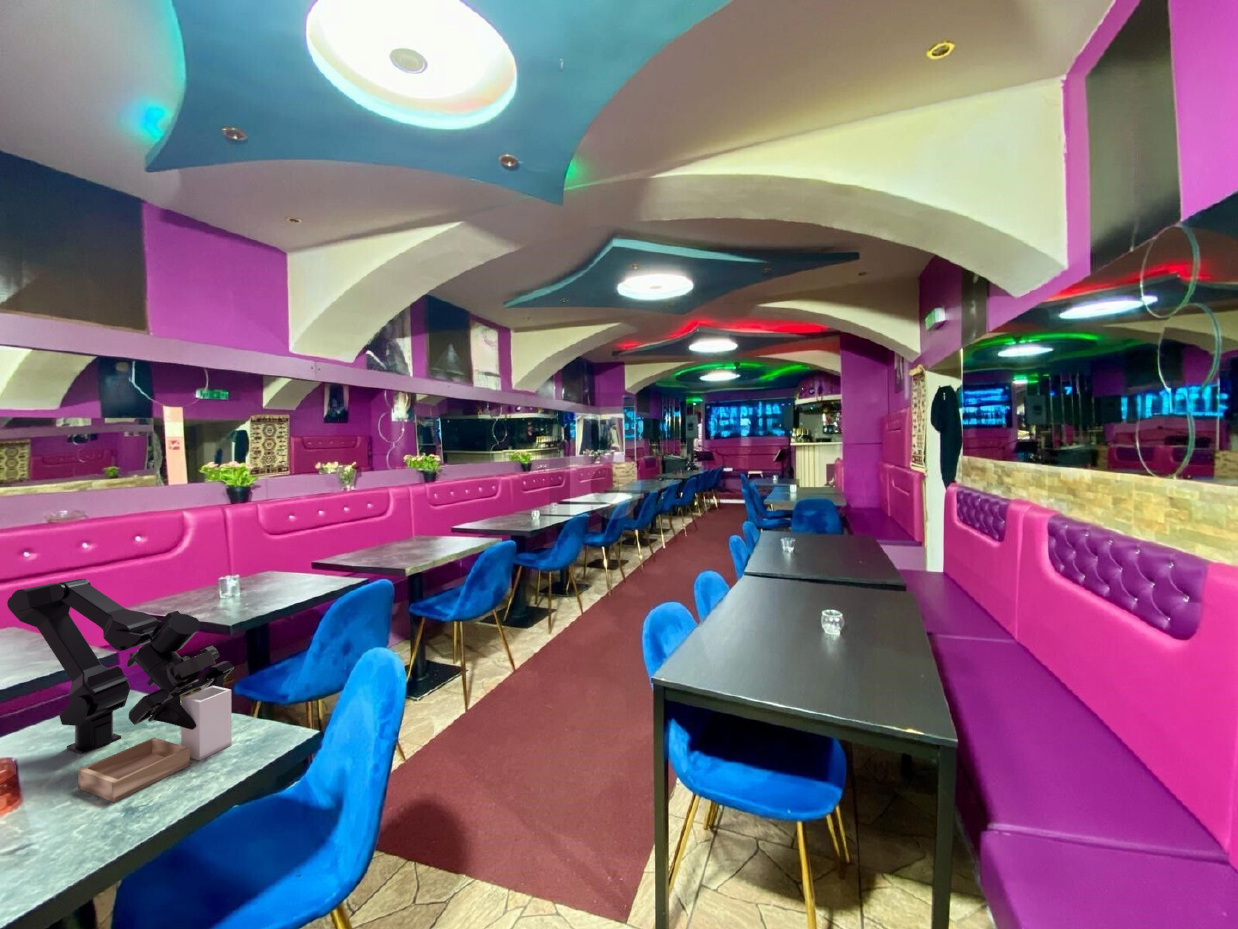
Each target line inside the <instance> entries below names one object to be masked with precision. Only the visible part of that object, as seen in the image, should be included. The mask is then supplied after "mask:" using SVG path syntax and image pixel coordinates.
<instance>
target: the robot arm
mask: <svg viewBox="0 0 1238 929" xmlns="http://www.w3.org/2000/svg"><path fill="white" fill-rule="evenodd" d="M6 604H7V608H8V610H9V611H10V612H11V613H12V614H13V616H15V617H16V619H17V620H18V621H19V622H21V623H23V624H26V625H29V626H32V627H35V628H37V630H38V631H39V632H40V634H41V636H42V637H43V638H44V640H45V642H46V644H47V645H48V646H49V648H50V650H51V652H52V653H53V654H54V656H55V658H56V659H57V660H58V662H59V663H60V665H61V667H62V668H63V670H64V671H65V674H66V675H67V676H68V677H69V679H70V682H71V686H70V690H69V693H68V699H69V702H70V703H69V704H68V706H66V708H65V709H64V710H63V711H62V712H61V713H60V714H59V719H60V723H61V726H73V727H74V743H71V744H68V745H67V746H66V749H67V750H69V751H72V752H75V753H79V754H80V755H81V754H87V753H89V752H91V751H94V750H96V749H98V748H101V747H104V746H106V745H108V744H110V743H113V742H115V741H116V742H117V741H118V740H121V739H122V735H120V734H117V733H114V711H116V710H118V709H121V708H124V707H126V703H127V701H128V698H129V695H130V694H129V693H130V691H131V685H130V683H129V682H128V681H130V679H129V678H128V677H127V676H126V675H125V673H124V672H123V670H122V668H121V667H120V666H118V665H116V666H112V667H107V666H104V665H103V664H102V662H101V661H100V659H99V658H98V656H97V654H96V653H95V652H94V651H93V650H94V649H92V647H91V646H90V644H89V643H88V641H87V639H86V638H85V637H84V635H83V633H82V632H81V631H80V629H79V627H78V626H77V624H76V623H75V621H74V620H73V618H72V616H71V615H70V611H71V608H72V610H74V611H76V612H77V613H79V614H80V615H82V616H83V617H85V618H86V619H88V620H89V621H91V622H92V623H94V625H97V626H98V627H99V628H100V629H101V630H102V631H103V639H104V640H105V642H106V643H108V644H109V645H110V647H112V648H113V649H114V650H115V651H119V652H123V651H127V650H131V649H133V648H136V647H139V646H140V647H139V648H138V649H137V650H136V651H133V652H130V653H129V657H128V660H127V662H126V667H128V668H130V667H133V666H135V665H137V666H139V667H140V668H141V670H142V671H143V672H144V673H145V675H147V676H148V678H150V679H149V680H147V682H146V684H147V685H148V686H149V687H152V686H156V687H157V688H158V690H155V691H152V692H151V693H148V694H146V695H144V696H142V697H141V698H140V699H139V701H138V702H136V704H134V706H133V707H132V708H131V709H130V710H129V712H128V720H129V721H130V723H132V724H133V725H134V726H136V725H138V724H140V723H142V722H144V721H148V722H149V723H150V722H154V721H156V722H160V723H165V724H169V725H174V726H177V727H180V728H181V727H184V728H187V729H191V730H193V729H194V728H195V727H196V724H195V722H194V720H193V719H192V718H191V716H190V715H189V714H188V713H187V712H186V710H185V709H184V708H183V707H182V706H181V697H183V696H184V695H186V694H188V693H190V692H192V691H194V690H196V689H199V688H200V689H201V690H203V689H206V688H208V687H211V686H217V687H222V688H224V686H223V685H224V680H225V678H227V677H228V675H230V673H231V672H232V671H233V670H234V669H235V667H234V665H233V664H232V663H231V662H230V661H228V660H224V661H221V662H219V663H217V662H216V660H217V659H219V658H220V653H219V651H218V649H217V648H216V647H215V646H214V645H210V646H208V647H205V648H203V649H201V650H200V651H199V654H197V655H196V656H195V655H194V656H192V657H190V656H187V655H185V656H182V657H181V656H180V655H179V654H178V652H177V651H180V650H181V649H183V648H184V646H186V644H187V643H188V642H189V641H190V640H191V639H192V638H193V637H194V635H195V634H197V632H198V631H199V630H200V628H201V623H200V620H199V619H198V618H197V617H194V616H193V615H189V614H187V613H181V612H180V611H179V610H174V611H170V612H167V613H166V615H165V616H164V617H163V619H162V620H159V619H157V618H156V617H154V616H153V615H151V614H148V613H146V612H143V611H138V610H136V611H135V610H130V609H128V608H125V607H124V606H122V605H121V604H119V603H117V601H115V600H113V599H112V598H110V597H109V596H107V595H106V594H104V593H103V592H101V591H100V590H98V589H97V588H96V587H94V586H92V585H91V582H90V581H89V580H88V579H86V578H75V579H69V580H65V581H60V582H52V583H47V584H42V585H36V586H31V587H26V588H25V587H24V588H21V589H17V590H15V591H14V592H13V593H12V595H11V596H9V597H8V599H7V603H6ZM209 666H210V667H209ZM207 667H209V668H208V669H207V670H206V671H205V670H204V669H205V668H207ZM204 671H205V672H204ZM203 672H204V673H203ZM200 675H201V676H200ZM199 676H200V677H199Z"/></svg>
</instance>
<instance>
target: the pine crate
mask: <svg viewBox="0 0 1238 929" xmlns="http://www.w3.org/2000/svg"><path fill="white" fill-rule="evenodd" d="M190 759H191V758H190V756H189V748H188V747H185V746H181V744H178V743H174V742H171V741H168V740H165V739H162V738H161V739H160V738H158V737H152V738H150V739H148V740H145V741H143V742H141V743H138V744H135V745H133V746H131V747H129V748H127V749H124V750H122V751H118V752H117V753H114V754H112V755H110V756H108V757H104V758H102V759H100V760H97V761H95V762H93V763H91V764H89V765H87V766H84V767H82V768H78V769H77V770H78V771H77V774H78V775H77V778H78V779H77V780H78V782H77V783H78V786H77V788H78V789H79V790H81V791H84V792H86V793H89V794H91V795H94V796H97V797H99V798H102V799H105V800H107V801H109V802H112V803H117V802H119V801H121V800H123V799H124V798H126V797H128V796H130V795H133V794H136V792H138V791H140V790H142V789H144V788H147V787H148V786H150V785H152V784H154V783H156V782H159V781H160V780H162V779H164V778H167V777H169V776H170V775H172V774H175V773H178V772H179V771H180V770H183V769H185V768H187V767H189V766H190V764H191V763H190V762H191V761H190Z"/></svg>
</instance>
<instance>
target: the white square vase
mask: <svg viewBox="0 0 1238 929" xmlns="http://www.w3.org/2000/svg"><path fill="white" fill-rule="evenodd" d="M180 702H181V706H182V707H183V708H184V709H185V710H186V712H187V713H188V714H189V715H190V716H191V718H192V719H193V720H194V722H195V724H196V727H195V728H194V729H193V730H191V729H187V728H184V727H180V728H181V730H180V731H181V732H180V735H181V736H180V737H181V738H180V739H181V741H180V743H181V744H180V745H181V746H185V747H188V748H189V756H190V759H193V760H197V761H202V760H204V759H206V758H208V757H210V756H212V755H214V754H216V753H218V752H220V751H222V750H225V749H226V748H228V747H230V746H232V744H233V743H232V689H229V688H225V687H223V688H222V687H217V686H211V687H208V688H206V689H203V690H202V689H201V690H198V691H196V692H193V693H190V694H187V695H185V696H181V697H180Z"/></svg>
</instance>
